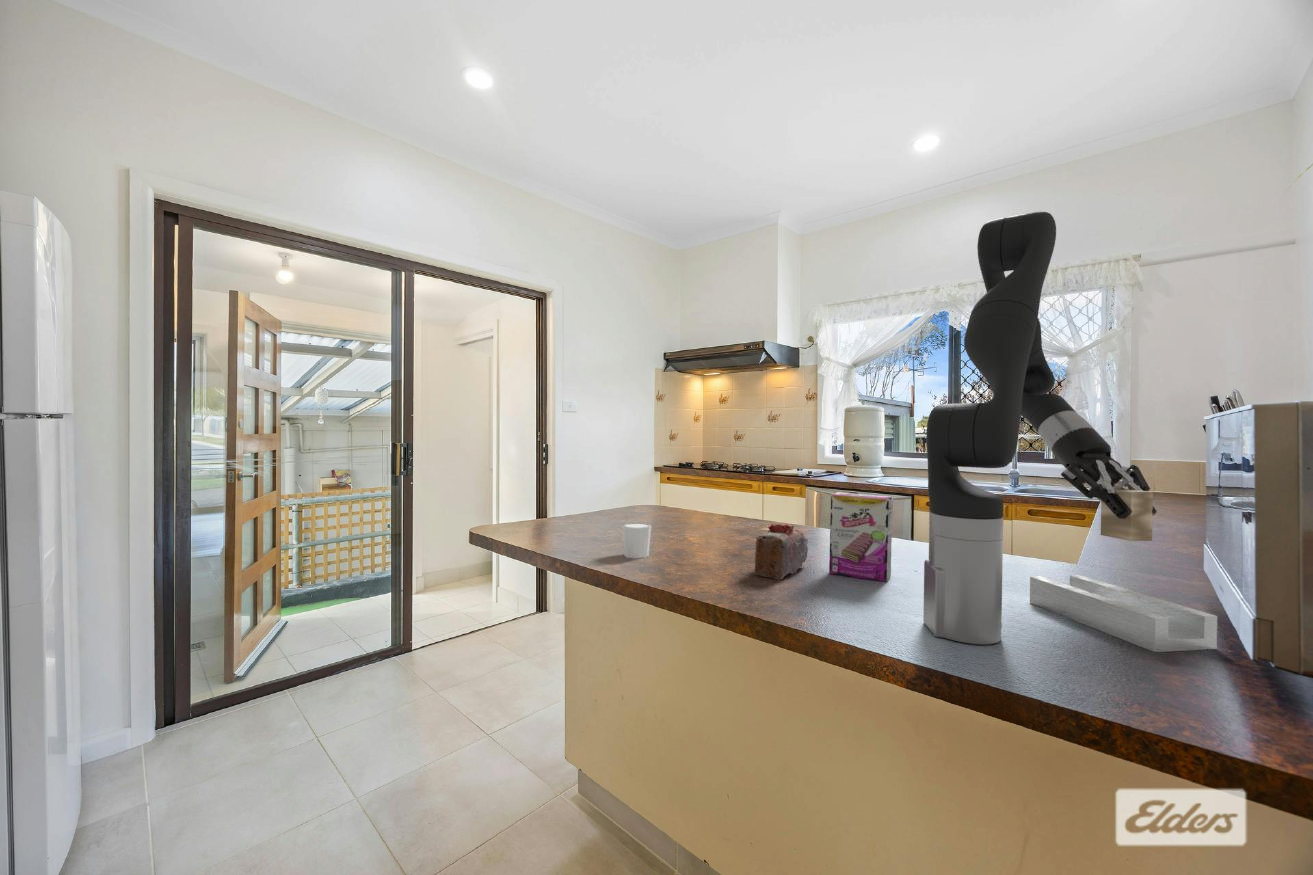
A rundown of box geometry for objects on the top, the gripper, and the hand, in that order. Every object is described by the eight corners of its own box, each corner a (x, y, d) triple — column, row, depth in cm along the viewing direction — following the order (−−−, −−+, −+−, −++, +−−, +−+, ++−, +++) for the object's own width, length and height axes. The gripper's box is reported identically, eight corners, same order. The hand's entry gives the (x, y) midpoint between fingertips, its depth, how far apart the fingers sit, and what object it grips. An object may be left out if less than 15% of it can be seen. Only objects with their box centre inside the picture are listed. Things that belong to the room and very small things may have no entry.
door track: (1154, 652, 70) (1155, 618, 69) (1029, 602, 89) (1030, 576, 89) (1216, 648, 71) (1217, 615, 71) (1079, 600, 91) (1080, 575, 90)
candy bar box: (828, 574, 106) (829, 493, 106) (834, 569, 110) (835, 491, 110) (887, 583, 100) (889, 498, 100) (891, 577, 104) (893, 495, 104)
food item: (774, 561, 116) (774, 517, 116) (809, 567, 112) (810, 521, 112) (750, 575, 105) (751, 527, 105) (789, 582, 101) (790, 531, 101)
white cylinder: (618, 558, 118) (618, 527, 118) (625, 551, 125) (625, 522, 125) (648, 559, 117) (648, 528, 117) (653, 552, 124) (653, 523, 124)
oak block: (1130, 541, 85) (1131, 491, 85) (1100, 535, 90) (1101, 488, 90) (1151, 540, 85) (1153, 491, 85) (1121, 534, 90) (1122, 488, 90)
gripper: (1051, 425, 94) (1117, 501, 82) (1120, 426, 96) (1195, 501, 84) (1026, 453, 99) (1084, 529, 87) (1092, 454, 101) (1158, 528, 89)
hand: (1138, 515), depth 86 cm, fingers closed on oak block, 4 cm apart
